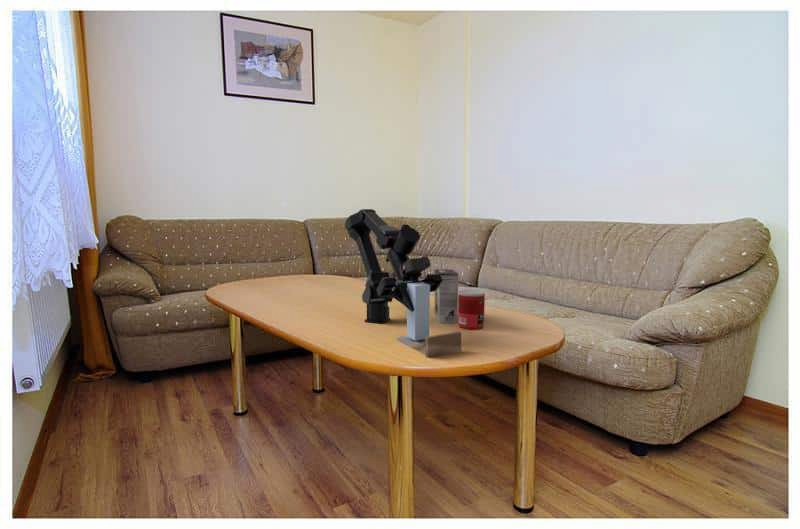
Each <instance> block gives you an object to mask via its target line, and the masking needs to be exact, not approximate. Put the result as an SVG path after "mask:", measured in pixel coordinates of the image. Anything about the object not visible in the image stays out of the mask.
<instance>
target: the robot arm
mask: <svg viewBox="0 0 800 529" xmlns="http://www.w3.org/2000/svg"><path fill="white" fill-rule="evenodd" d="M344 227H345V231H347V234H348V236H349V238H351V239H352V240H353V241H355V242H356V245H357V248H358V251H359V255H360V257H361V261H362V263H363V267H364V270H365V272H366V277H367V278H366V282H365V286H364V287H365V288H364V290H363V292H362V295H361V298H362V303H364V304H366V318H365V319H364V322H367V323H375V324H384V323H385V322H388V321H389V320H391V317H390V306H389V303H392V302H393V299H395V300H396V302H397V301H398V302H399V303H400V304H402V306H404V307H405V308H406V309H407V308H408V309H409V310H410V311H411V312H413V311H414V307H413V304H412V302H411V299H410V297H409V295H408V292H407V283H417V282H423V283H426V284H429V285H430V293H431V292H432V293H433V292H434V293H435V291H436V290H437V288H438V287H439V285H440V284H441V282H442V281H443V279H442V277H441V275H440V274H438V273H436V274H435V273H427V274H426V276H425V278H424V279H421V278H420V277H421V276H422V272H423V271H426V270H427V269H429V268H430V267H431V262H430V261H431V260H430V259H429V257H428V256H427V255H426V256H421V257H419V258H418V257H416V258H410V257H409V255H410V254H412V253H413V251H414V250H415V248H416V246H417V244H418V242H419V241H420V238H421V234H420V233H419V231H417V229H415V228H414V227H411V226H410V224H402V225H401V227H400V229H399V228H398V227H395V226H391V225H388V224H387V222H385V221H384V219H382V218H381V217H380V216H379V215H378V214H377V213H376V210H375V209H373V208H371V209H370V208H362V209H360V210H358V212H355V213H353V214H351V215H349V216H348V217H347V218H346V220H345V222H344ZM371 232H372V233H373V234H374V235H375V236H376V239H375V240H376V243H377V245H378V246H379V248H380V249H381V250H388V252H387V253H386V257H385V262H386V263H390V266H391V268H392V270H393V271H392V276H391V275H390V274H389V272H387V271H385V272H383V271H382V268H381V266H380V262H379V259H378V257H377V253H376V250H375V248H374V244H373V242H372V239H371Z"/></svg>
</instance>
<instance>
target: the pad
mask: <svg viewBox="0 0 800 529" xmlns="http://www.w3.org/2000/svg"><path fill="white" fill-rule="evenodd" d="M396 341H398V342H400V343H402V344H404V345H406V346H408V347H410V348H412V342H418V343H420V344H422V345H424V346H425V339H423V340H417V341H415V340H413V339H411V338H409V337H407V335H406V336H399V337H396Z"/></svg>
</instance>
